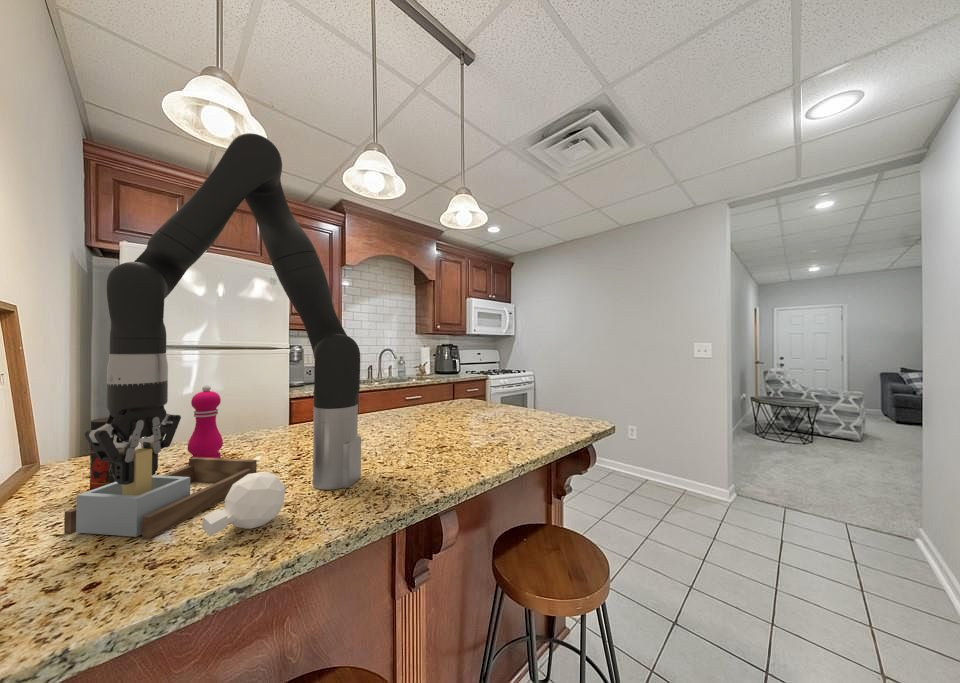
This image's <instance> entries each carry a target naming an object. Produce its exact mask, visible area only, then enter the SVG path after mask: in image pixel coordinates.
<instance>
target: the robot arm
mask: <svg viewBox="0 0 960 683" xmlns="http://www.w3.org/2000/svg"><path fill="white" fill-rule="evenodd" d="M282 160H283V159H282V156H281V153H280V151H279V149H278V148H277V146H276V145H275V144H274V143H273V142H272V141H271V140H269V139H268V138H267V137H265V136H263V135H260V134H257V133H251V132H249V133H247V132H246V133H242V134H239V135H237V136H235V137H234V138H233V139H232V140H231V142H230V144H229V145H228V146H227V148H226V150H225V151H224V152H223V154H222V156H221V158H220V159H219V161H218V163H217V164H216V166H214V168H213V170H212V171H211V172H210V174H209V175H208V177H206V178H205V180H204V181H203V183H201V185H200V186H199V187H198V188H197V190H196V191H195V192H194V193H193V194H191V196H190V197H189V198H188V199H186V201H185V202H184V203H183V204H182V205H181V207H180V208H178V210H176V212H175V213H173V214H172V215H171V216H170V217H169V218H167V220H166V221H165V222H164V223H163V224H162V225H161V226H160V227H159V228H158V229H157V230H156V231H155V232H154V233H153V234H152V236H150V238H149V239H148V241H147V245H146V248H145V249H144V251H143V252H142V253H140V255H139V256H138V257H137V258H136V259H135V260H134V261H129V262H128V261H127V262H123V263H120V264H118V265H116V266H115V267H113V268H112V270H111V271H110V272H109V274H108V275H107V280H106V298H107V306H108V314H109V318H110V331H109V358H108V362H107V368H106V408H107V411H108V413H109V415H108V419H107V420H106V424H105V425H104V426H102V427H100V428H98V429H96V430H91V429H87V431H86V432H85V433H84V436H85V439H86V440H87V442H88V444H89V445H91V447H92V448H93V450H94V452H95V453H96V455H97V457H98V458H99V460H100V461H101V462H113V463H114V464H115V481H116V482H118V484H122V485H127V484H130V483H133V480H134V461H132V460H133V456H134V451H135V449H137V448H138V446H139V443H140V448H143V449H152V476H153V475H157V474H156V473H157V471H158V469H159V453H161V450H163V449H165V448H169V447H170V446H171V444H172V442H173V439H174V436H175V434H176V432H177V429H178V427H179V424H180V422H181V419H182V416H181V415H180V414H170V413H168V412H167V410H166V409H165V405H167V403H168V402H169V400H168V396H169V395H168V394H169V392H168V391H169V390H168V388H169V387H168V386H169V367H168V366H169V365H168V358H167V328H166V326H165V322H164V315H165V314H164V313H165V299H166V298H167V297H168V296H169V295H170V294H171V293H172V291H173V290H174V289H175V287H176V286H177V285H178V283H179V282H180V281H181V280H182V278H183V277H184V275H185V274H186V272H187V271H188V269H190V267H192V266H193V265H194V264H195V263H196V262H197V261H198V260H199V259H200V258H201V257H202V256H203V255H204V254H205V253H206V252H207V251H208V249H209V248H210V247H211V246H212V245H213V244H214V243H215V241H216V240H217V238H218V237H219V236H220V234H221V233H222V232H223V230H224V229H225V227H226V225H227V224H228V222H229V221H230V219H231V218H232V216H233V215H234V213H235V212H236V210H237V208H238V207H240V205H241V203H242V202H243V201H244V200H245V202H246V203H247V204H246V205H248V207H249V209H250V211H251V214H252V215H253V217H254V219H255V221H256V224H257V227H258V230H259V233H260V236H261V239H262V242H263V244H264V247H265V250H266V252H267V253H266V254H268V258H269V261H270V263H271V265H272V267H273V270H274V272H275V275H276V277H277V278H278V281H279V283H280V285H281V287H282V288H283V291H284V292H285V294H286V296H287V298H288V300H289V301H290V303H291V304H292V307H293V308H294V310H295V311H296V313H297V314H298V316H299V318H300V319H301V322H302V325H303V326H304V328H305V332H306V334H307V337H308V340H309V343H310V347H311V350H312V353H313V358H314V366H313V367H314V369H313V370H314V373H313V374H314V378H313V379H314V380H313V381H314V383H313V384H314V385H313V386H314V388H313V421H312V422H313V427H312V428H313V430H312V431H313V432H312V433H313V434H312V435H313V436H312V437H313V438H312V441H313V442H312V486H313V488H315V489H318V490H324V491H325V490H338V489H342V488H345V489H346V488H347V489H349V488H350V487H351V486H353V484H355V483H356V482H357V481H359V479H361V477H362V436H361V435H360V436H359V435H358V433H359V432H358V429H359V428H358V427H359V426H358V425H359V424H358V422H359V421H358V420H359V418H358V416H359V415H358V414H359V394H360V389H361V388H360V387H361V383H360V382H361V351H360V348H359V345H358V344H357V342H356V341H355V340H354V339H353V338H352V337H350V336H349V335H347V332H346V331H345V329H344V327H343V325H342V323H341V321H340V320H339V317H338V315H337V313H336V310H335V307H334V303H333V298H332V294H331V290H330V287H329V286H330V285H329V283H328V282H329V281H328V279H327V275H326V273H325V270H324V267H323V264H322V261H321V259H320V257H319V254H318V253H317V250H316V248H315V247H314V245H313V243H312V241H311V239H310V237H309V236H308V235H307V233H306V231H305V230H304V229H303V228H302V226H301V225H300V224H299V223H298V222H297V219H296V218H295V217H294V214H293V213H292V211H291V209H290V207H289V204H288V201H287V199H286V196H285V192H284V189H283V185H282V181H281V177H282V173H283V161H282ZM111 432H113V433H114V434H115V436H114V440H113V441H112V439H111V438H112V437H113V435H112V434H111ZM124 440H126V441H129V442H125V441H124ZM124 449H125V451H124ZM123 454H124V455H123Z"/></svg>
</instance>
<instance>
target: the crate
mask: <svg viewBox="0 0 960 683" xmlns="http://www.w3.org/2000/svg"><path fill="white" fill-rule="evenodd" d="M123 455H124V454H123ZM132 461H134V480H133V483H130V484H127V485H122V484H118V482H113V483H110V484H108V485H105V486H102V487H99V488H96V489H93V490H90V489H89V490H88V491H84V492H82V493H79V494H77V495H76V497H75V498H76V499H75V500H76V501H75V502H76V503H75V508H76V532H75V533H77V534H78V533H81V534H93V535H104V536H105V535H107V536H108V535H109V536H121V537H133V538H135V537H136V538H137V537H139V536H140V535H141V536H142V517H143V516H145V515H148V514H150V513H152V512H154V511H156V510H158V509H161V508H163V507H165V506H167V505H169V504H171V503H174V502H176V501H178V500H180V499H182V498H184V497H186V496H189V495H191V483H190V477H180V476H162V475H157V474H155V475H153V476H152V449H143V448H141V447H140V448H138V447H137V448H135V451H134V456H133V460H132Z"/></svg>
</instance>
